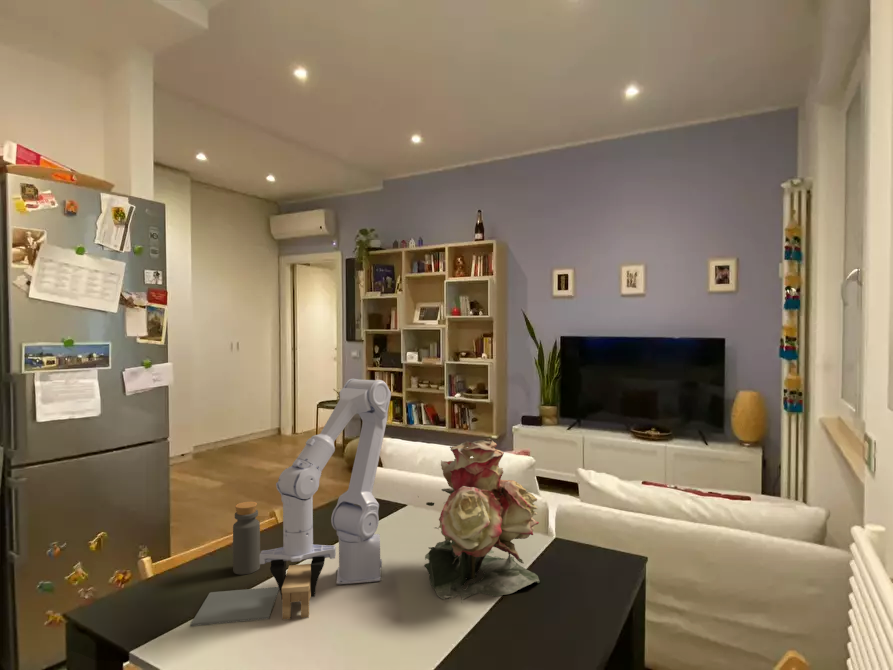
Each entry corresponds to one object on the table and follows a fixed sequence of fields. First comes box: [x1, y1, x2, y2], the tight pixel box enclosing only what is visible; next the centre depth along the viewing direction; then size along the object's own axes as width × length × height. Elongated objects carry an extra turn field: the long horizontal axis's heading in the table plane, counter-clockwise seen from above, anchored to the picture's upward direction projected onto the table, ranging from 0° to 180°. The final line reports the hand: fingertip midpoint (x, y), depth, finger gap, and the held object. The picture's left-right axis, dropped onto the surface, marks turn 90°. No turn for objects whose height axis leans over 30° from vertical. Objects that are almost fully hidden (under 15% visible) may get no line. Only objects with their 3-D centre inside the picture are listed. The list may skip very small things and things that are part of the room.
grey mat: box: [190, 586, 280, 627], centre depth 102 cm, size 14×12×1 cm
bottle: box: [232, 501, 261, 576], centre depth 119 cm, size 6×6×15 cm
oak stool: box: [281, 563, 312, 620], centre depth 102 cm, size 10×5×6 cm, turn 9°
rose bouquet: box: [417, 437, 541, 604], centre depth 116 cm, size 26×29×30 cm
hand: (298, 595), depth 102 cm, fingers closed on oak stool, 5 cm apart
